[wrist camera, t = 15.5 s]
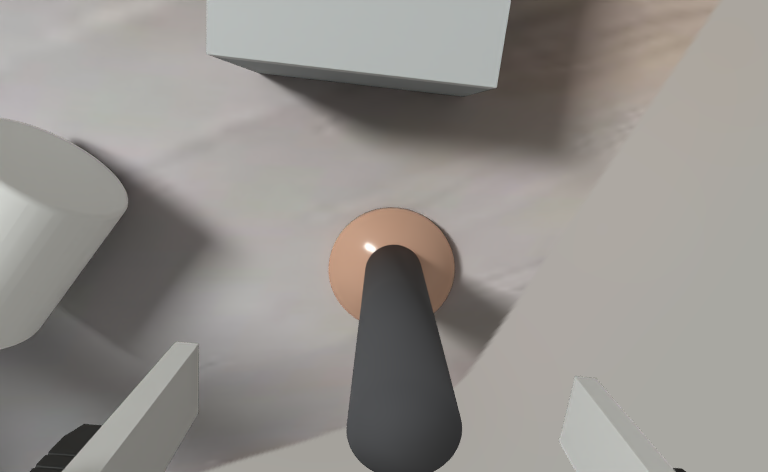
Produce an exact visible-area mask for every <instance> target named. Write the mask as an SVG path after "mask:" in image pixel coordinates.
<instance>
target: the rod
mask: <svg viewBox="0 0 768 472" xmlns="http://www.w3.org/2000/svg"><path fill="white" fill-rule="evenodd" d="M461 435H462V422H461V418H460V414H459V410H458V406H457V402H456V398H455V394H454V390H453V386H452V383H451V379H450V375H449V371H448V367H447V363H446V359H445V355H444V352H443V348H442V344H441V340H440V336H439V332H438V328H437V325H436V321H435V317H434V313H433V309H432V305H431V301H430V297H429V294H428V290H427V286H426V282H425V278H424V274H423V270H422V267H421V263H420V261H419V259H418V257H417V256H416V254H415V253H414V252H413V251H411V250H410V249H408V248H406V247H404V246H401V245H386V246H383V247H381V248H379V249H377V250H376V251H375V252H374V253H373V254H372V255H371V256H370V257H369V259H368V261H367V264H366V268H365V276H364V284H363V293H362V301H361V310H360V318H359V327H358V335H357V343H356V352H355V360H354V369H353V377H352V386H351V394H350V403H349V411H348V420H347V438H348V442H349V445H350V448H351V449H352V452H353V453H354V454H355V456H356V457H357V458H358V460H359V461H360V462H361V463H362V464H363V465H365V466H366V467H367V468H369V469H370V470H372V471H374V472H434V471H435V470H437V469H439V468H440V467H442V466H443V465H444V464H445V463H446V462H447V461H448V460H450V458H451V457H452V456H453V455H454V453H455V451H456V450H457V448H458V445H459V443H460V439H461Z"/></svg>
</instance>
